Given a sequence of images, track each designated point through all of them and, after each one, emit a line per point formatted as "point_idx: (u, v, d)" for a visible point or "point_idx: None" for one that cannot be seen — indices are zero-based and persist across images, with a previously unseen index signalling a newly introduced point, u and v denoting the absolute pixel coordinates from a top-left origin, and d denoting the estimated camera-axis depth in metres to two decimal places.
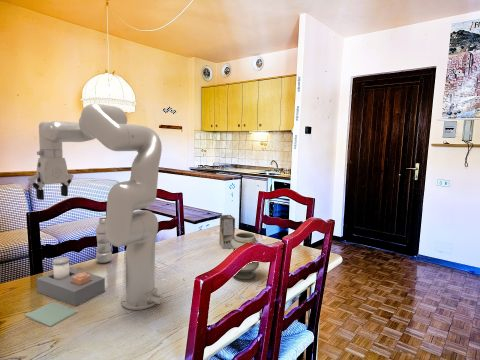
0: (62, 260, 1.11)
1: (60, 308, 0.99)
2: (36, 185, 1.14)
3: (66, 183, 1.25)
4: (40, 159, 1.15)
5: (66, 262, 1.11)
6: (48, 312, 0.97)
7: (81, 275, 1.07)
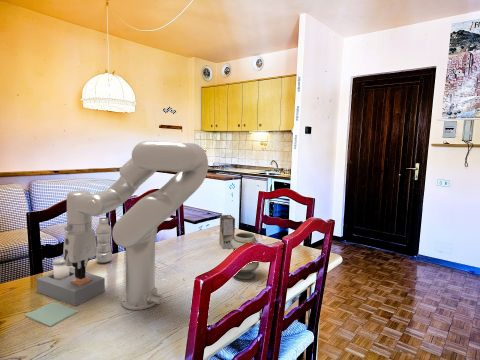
0: (62, 260, 1.11)
1: (60, 308, 0.99)
2: (75, 264, 1.05)
3: (84, 263, 1.07)
4: (68, 235, 1.02)
5: None
6: (48, 312, 0.97)
7: None
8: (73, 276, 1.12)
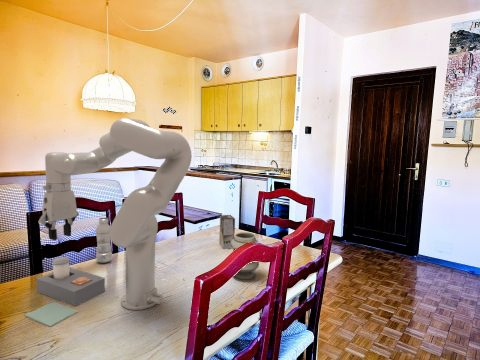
0: (62, 260, 1.11)
1: (60, 308, 0.99)
2: (49, 225, 1.06)
3: (69, 222, 1.12)
4: (47, 194, 1.04)
5: (66, 262, 1.11)
6: (48, 312, 0.97)
7: (81, 279, 1.07)
8: (73, 276, 1.12)
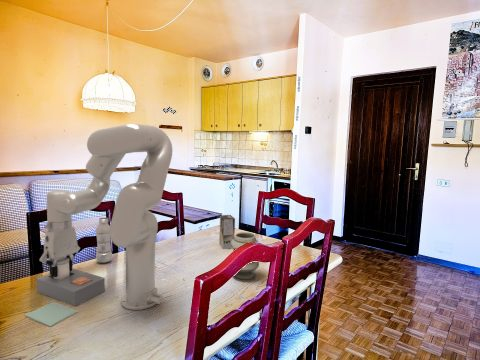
0: (62, 260, 1.11)
1: (60, 308, 0.99)
2: (50, 263, 1.07)
3: (71, 257, 1.14)
4: (48, 233, 1.06)
5: (66, 262, 1.11)
6: (48, 312, 0.97)
7: (81, 279, 1.07)
8: (73, 276, 1.12)
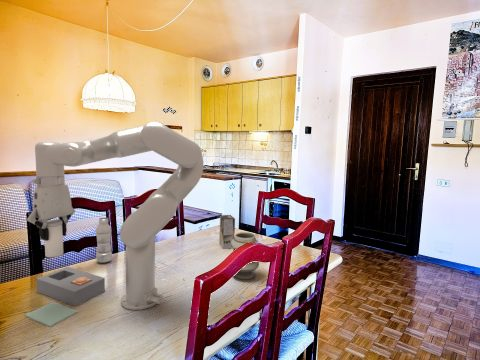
0: (54, 222, 0.98)
1: (60, 308, 0.99)
2: (39, 223, 0.94)
3: (64, 220, 1.01)
4: (37, 189, 0.93)
5: (58, 224, 0.98)
6: (48, 312, 0.97)
7: (81, 279, 1.07)
8: (73, 276, 1.12)
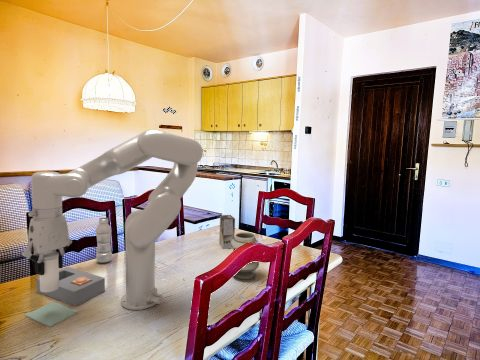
0: (50, 255, 0.93)
1: (60, 308, 0.99)
2: (35, 258, 0.89)
3: (61, 252, 0.96)
4: (33, 222, 0.88)
5: (55, 257, 0.93)
6: (48, 312, 0.97)
7: (81, 279, 1.07)
8: (73, 276, 1.12)
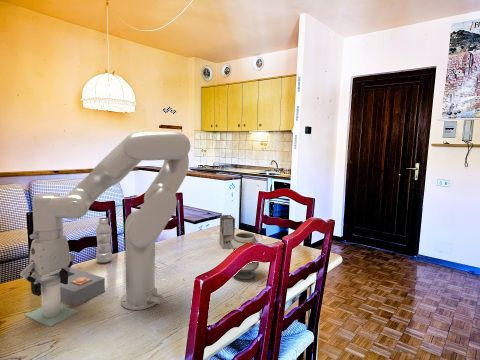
0: (52, 281, 0.94)
1: None
2: (31, 279, 0.89)
3: (66, 268, 0.98)
4: (34, 244, 0.89)
5: (56, 283, 0.94)
6: None
7: (81, 279, 1.07)
8: (73, 276, 1.12)
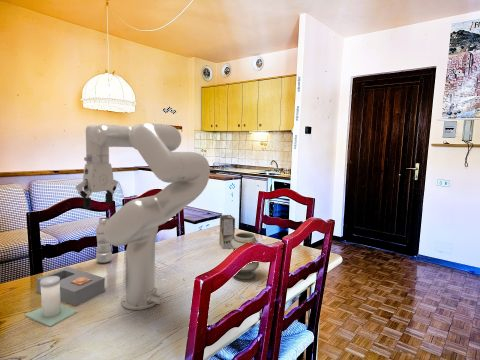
0: (51, 281, 0.94)
1: None
2: (84, 193, 1.07)
3: (111, 190, 1.17)
4: (87, 165, 1.08)
5: (56, 283, 0.94)
6: None
7: (81, 279, 1.07)
8: (73, 276, 1.12)
